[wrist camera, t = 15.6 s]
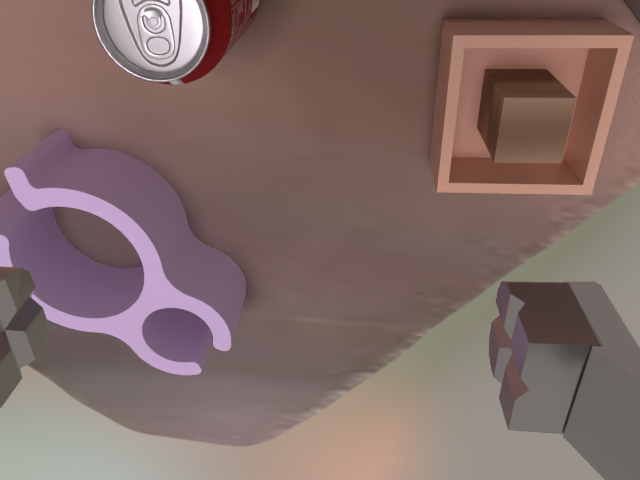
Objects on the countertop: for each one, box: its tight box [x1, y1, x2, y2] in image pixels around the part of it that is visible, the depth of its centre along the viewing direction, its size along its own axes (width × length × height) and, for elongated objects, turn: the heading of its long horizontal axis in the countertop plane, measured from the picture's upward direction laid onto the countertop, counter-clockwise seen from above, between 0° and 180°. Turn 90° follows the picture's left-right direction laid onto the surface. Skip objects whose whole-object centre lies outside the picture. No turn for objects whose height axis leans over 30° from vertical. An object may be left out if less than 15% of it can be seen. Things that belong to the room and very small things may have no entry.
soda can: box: [92, 0, 260, 85], centre depth 31 cm, size 7×7×12 cm
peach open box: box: [429, 18, 635, 195], centre depth 36 cm, size 10×10×5 cm
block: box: [477, 69, 576, 163], centre depth 35 cm, size 4×4×6 cm
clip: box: [0, 130, 246, 375], centre depth 44 cm, size 20×12×7 cm, turn 46°
